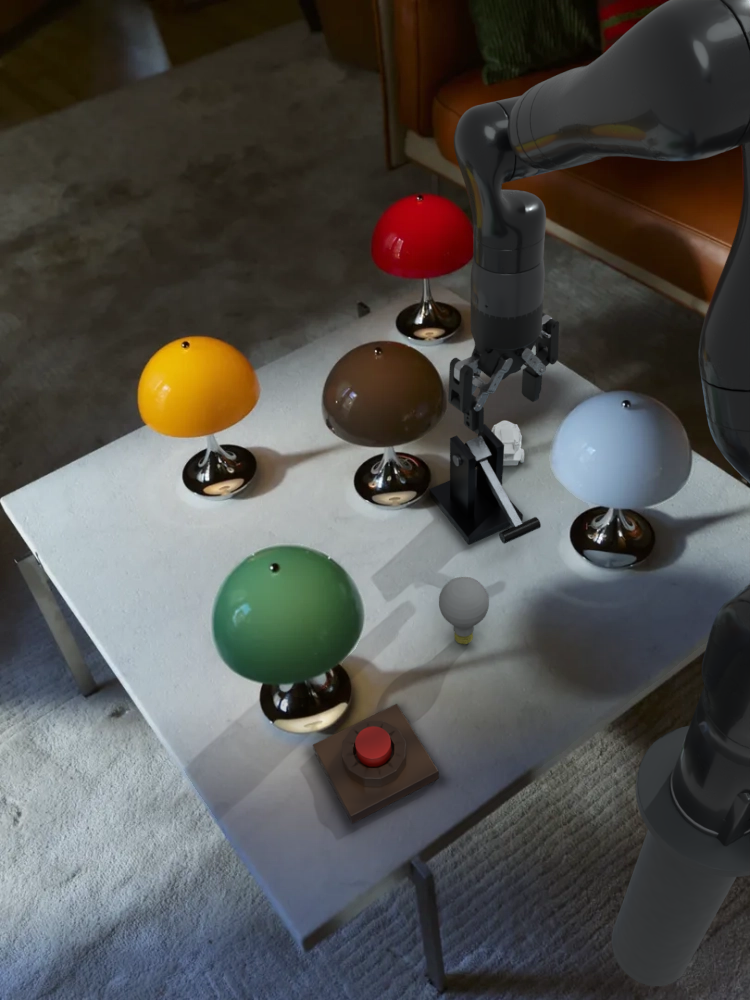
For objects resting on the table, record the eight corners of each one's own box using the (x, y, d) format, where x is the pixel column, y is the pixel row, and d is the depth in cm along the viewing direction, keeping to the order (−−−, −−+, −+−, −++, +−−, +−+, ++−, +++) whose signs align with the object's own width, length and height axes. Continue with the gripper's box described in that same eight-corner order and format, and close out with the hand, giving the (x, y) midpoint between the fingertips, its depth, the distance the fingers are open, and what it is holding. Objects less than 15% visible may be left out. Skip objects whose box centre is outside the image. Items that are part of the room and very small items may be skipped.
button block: (439, 778, 97) (438, 762, 94) (352, 824, 94) (349, 808, 92) (397, 711, 103) (396, 694, 100) (314, 752, 100) (310, 735, 97)
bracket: (522, 520, 121) (528, 454, 112) (468, 544, 118) (470, 478, 110) (481, 473, 127) (483, 406, 118) (429, 495, 125) (427, 428, 116)
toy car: (488, 472, 127) (489, 449, 124) (485, 431, 132) (486, 409, 129) (524, 471, 127) (526, 448, 124) (520, 430, 132) (521, 408, 129)
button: (397, 757, 96) (397, 748, 94) (366, 773, 95) (365, 764, 93) (381, 729, 98) (380, 720, 97) (350, 744, 97) (349, 736, 96)
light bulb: (430, 632, 109) (429, 579, 102) (471, 613, 111) (472, 559, 104) (454, 667, 106) (455, 614, 99) (496, 647, 108) (499, 593, 100)
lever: (537, 530, 114) (543, 524, 112) (502, 546, 113) (507, 540, 110) (486, 439, 117) (491, 431, 115) (451, 453, 116) (455, 445, 114)
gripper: (478, 337, 93) (477, 457, 104) (582, 282, 98) (570, 402, 110) (430, 305, 97) (434, 424, 109) (532, 254, 103) (526, 372, 114)
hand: (503, 413), depth 109 cm, fingers open, 8 cm apart
